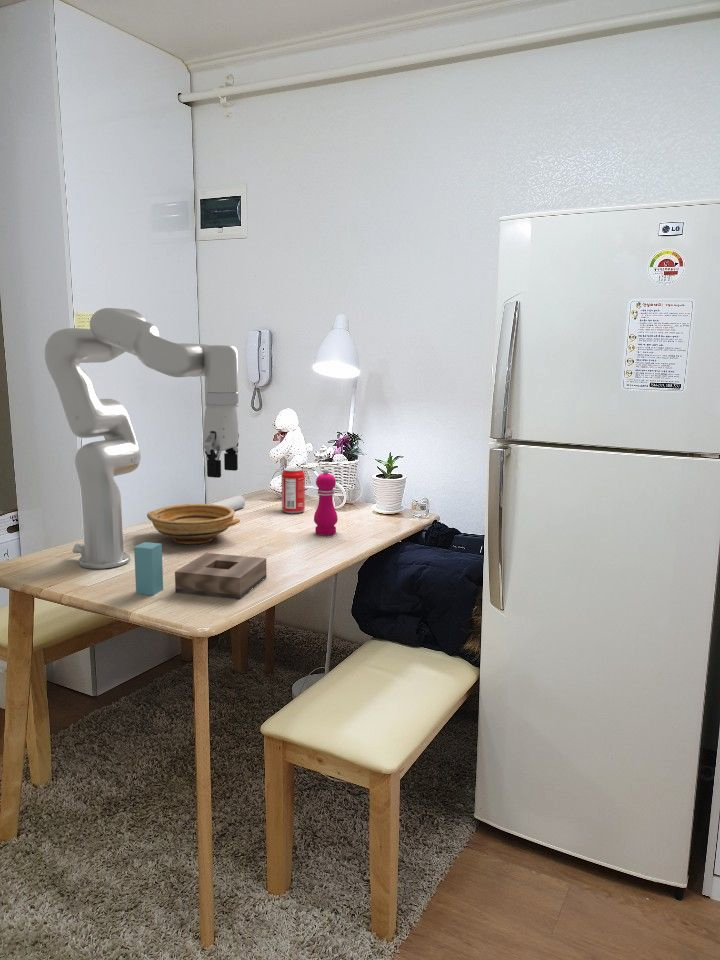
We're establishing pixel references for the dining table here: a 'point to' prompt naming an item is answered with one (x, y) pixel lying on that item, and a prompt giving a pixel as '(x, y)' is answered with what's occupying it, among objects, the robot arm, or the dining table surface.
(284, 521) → the dining table surface
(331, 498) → the pepper mill
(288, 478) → the soda can
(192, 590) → the bore block
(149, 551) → the peg
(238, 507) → the tube
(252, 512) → the dining table surface
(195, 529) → the ceramic bowl
